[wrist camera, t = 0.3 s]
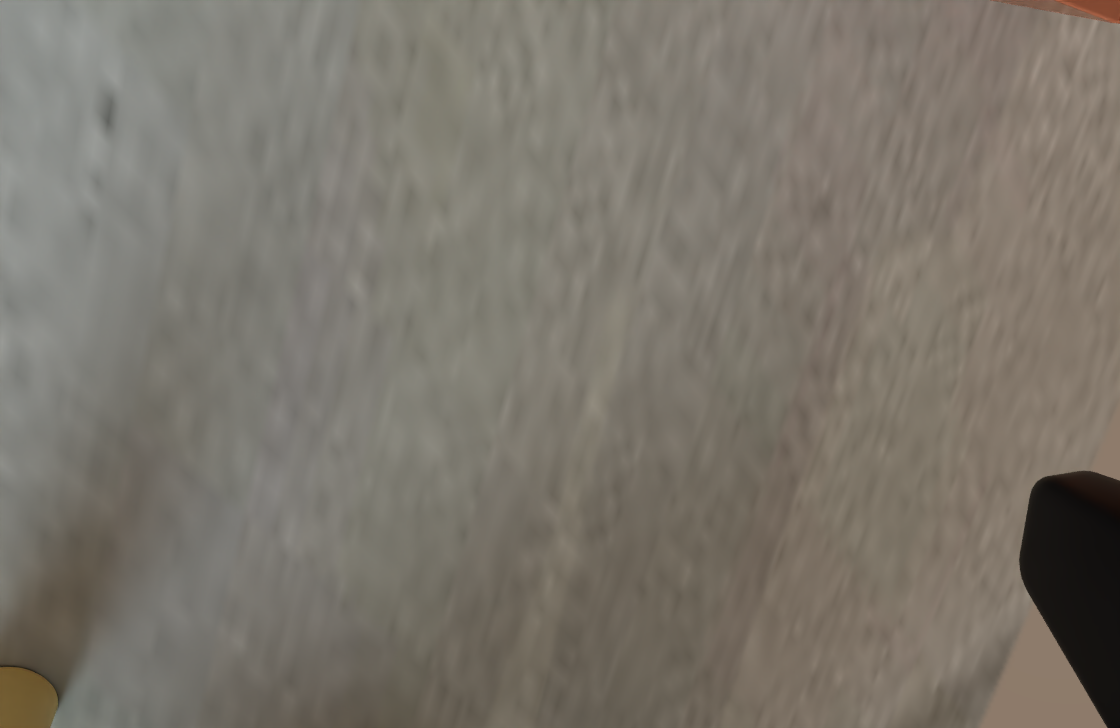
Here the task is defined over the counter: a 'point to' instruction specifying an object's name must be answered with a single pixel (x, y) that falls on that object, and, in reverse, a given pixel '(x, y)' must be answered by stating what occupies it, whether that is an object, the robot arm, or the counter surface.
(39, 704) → the tan solid cylinder
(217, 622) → the counter surface
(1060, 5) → the cup
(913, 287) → the counter surface
